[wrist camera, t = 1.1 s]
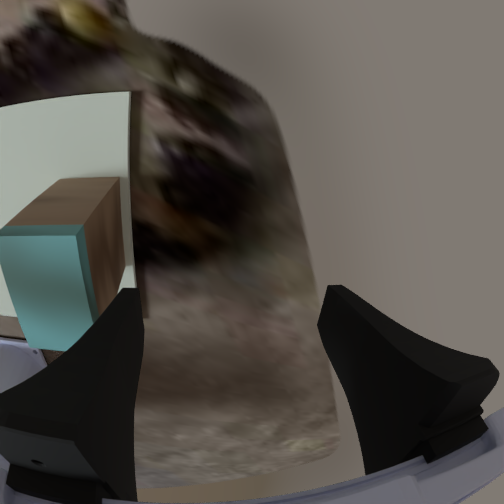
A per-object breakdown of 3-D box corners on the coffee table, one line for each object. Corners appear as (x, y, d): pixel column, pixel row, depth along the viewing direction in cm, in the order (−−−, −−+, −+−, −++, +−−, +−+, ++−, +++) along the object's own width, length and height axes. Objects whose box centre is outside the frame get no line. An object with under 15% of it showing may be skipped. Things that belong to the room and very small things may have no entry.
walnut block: (125, 266, 20) (101, 354, 13) (71, 265, 19) (29, 347, 12) (119, 176, 17) (75, 235, 10) (59, 179, 16) (-7, 236, 10)
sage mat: (140, 318, 23) (139, 324, 22) (-7, 309, 20) (-10, 313, 20) (131, 91, 16) (129, 91, 15) (-46, 119, 13) (-51, 120, 12)
